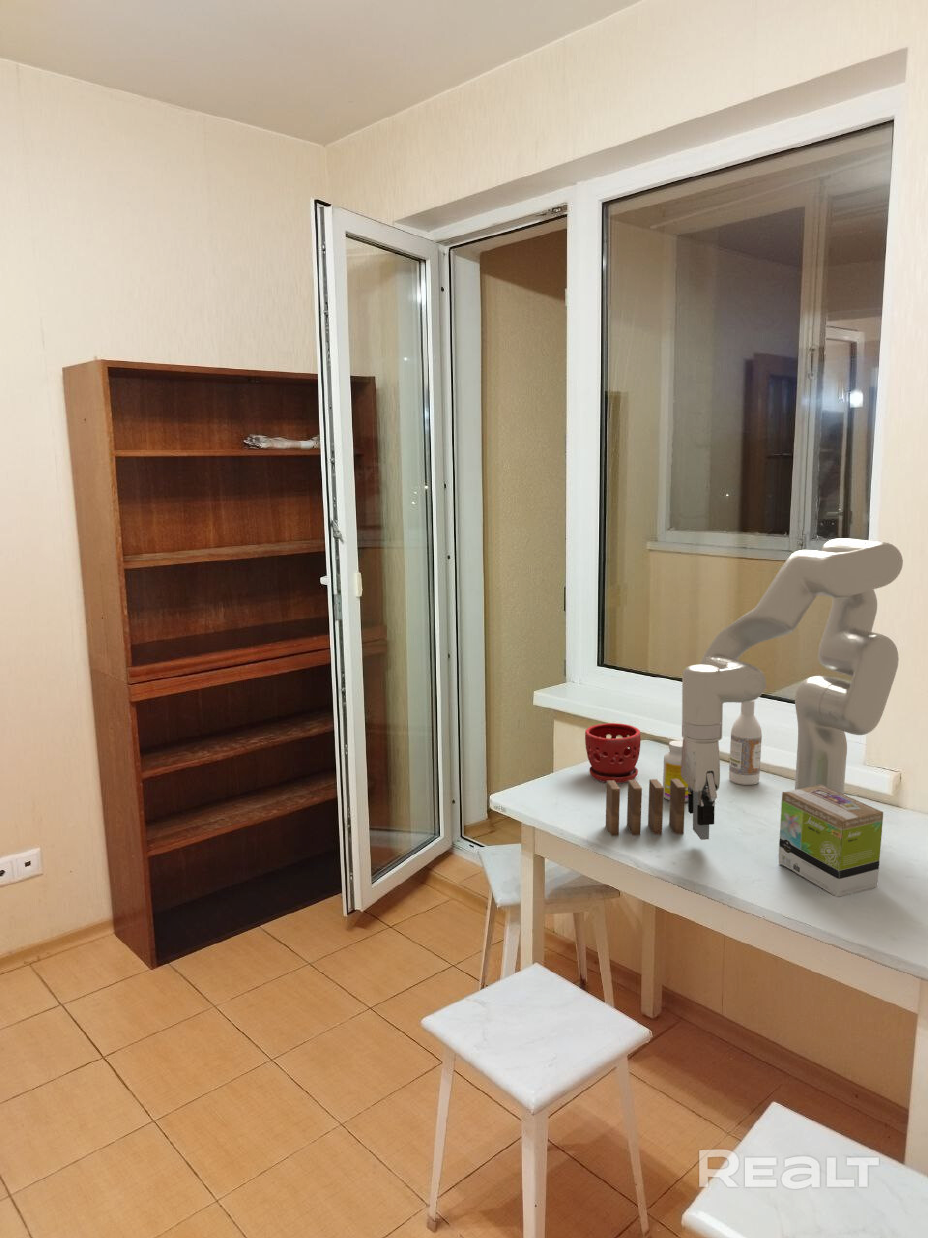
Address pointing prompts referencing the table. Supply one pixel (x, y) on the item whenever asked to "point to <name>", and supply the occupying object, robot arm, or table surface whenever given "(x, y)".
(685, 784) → the supplement bottle
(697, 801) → the head domino
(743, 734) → the bath foam
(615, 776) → the plant pot
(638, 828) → the domino
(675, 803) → the domino
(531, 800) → the table surface
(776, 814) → the table surface
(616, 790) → the domino
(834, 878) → the tea box
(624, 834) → the table surface
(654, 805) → the domino
